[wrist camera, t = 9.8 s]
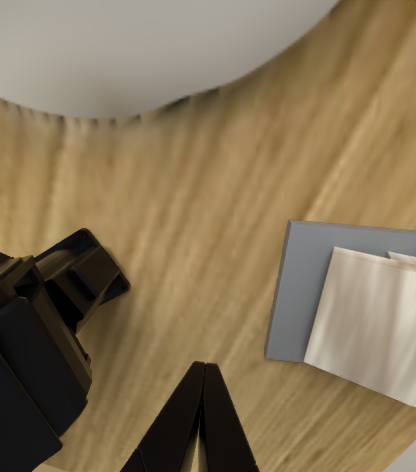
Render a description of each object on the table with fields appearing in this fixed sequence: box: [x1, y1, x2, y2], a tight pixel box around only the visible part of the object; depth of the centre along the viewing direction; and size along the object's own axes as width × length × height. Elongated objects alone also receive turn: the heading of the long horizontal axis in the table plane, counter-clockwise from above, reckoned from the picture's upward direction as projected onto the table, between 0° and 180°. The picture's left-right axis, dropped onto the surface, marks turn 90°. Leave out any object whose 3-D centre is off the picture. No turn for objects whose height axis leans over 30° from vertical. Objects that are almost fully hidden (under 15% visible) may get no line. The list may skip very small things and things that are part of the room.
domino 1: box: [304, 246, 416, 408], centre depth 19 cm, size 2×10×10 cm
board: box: [264, 220, 416, 363], centre depth 22 cm, size 16×13×1 cm
